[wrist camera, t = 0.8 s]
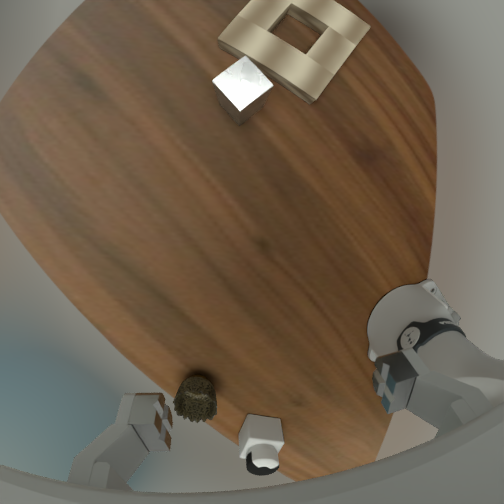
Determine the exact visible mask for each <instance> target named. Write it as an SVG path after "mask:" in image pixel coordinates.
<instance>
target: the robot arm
mask: <svg viewBox="0 0 504 504" xmlns="http://www.w3.org/2000/svg"><path fill="white" fill-rule="evenodd" d="M431 289H432V291H431ZM460 319H461V318H460V316H459V315H458V314H457V313H456V312H455V311H453V309H452V308H451V307H450V306H449V305H448V303H447V301H446V300H445V298H444V296H443V295H442V293H441V292H440V290H439V288H438V287H437V285H436V284H435V283H434V281H433V280H432V279H427V280H424V281H422V282H421V283H419V284H415V285H405V286H401V287H398V288H396V289H394V290H392V291H391V292H389V293H388V294H387V295H385V296H384V297H383V298H382V299H381V300H380V301H379V303H378V304H377V305H376V307H375V308H374V310H373V311H372V313H371V316H370V318H369V322H368V327H367V334H368V339H369V343H370V346H369V350H368V357H369V359H370V360H371V361H374V362H375V366H376V368H377V369H376V370H375V371H374V372H373V378H372V380H373V386H374V390H375V392H376V394H377V395H379V396H381V397H382V401H381V403H382V405H383V407H384V408H385V410H386V412H387V414H390V413H393V412H396V411H399V410H402V409H405V408H407V410H409V411H410V412H412V413H413V414H415V415H417V416H418V417H420V418H421V419H423V420H425V421H426V422H428V423H430V424H431V425H433V426H434V427H436V428H438V429H439V430H438V432H437V434H436V436H435V438H434V439H432V440H430V441H427V442H425V443H423V444H420V445H418V446H416V447H413V448H411V449H408V450H406V451H403V452H400V453H398V454H395V455H392V456H390V457H387V458H384V459H381V460H378V461H375V462H372V463H369V464H366V465H362V466H359V467H356V468H352V469H349V470H345V471H341V472H338V473H334V474H330V475H326V476H321V477H317V478H312V479H308V480H303V481H298V482H293V483H287V484H281V485H275V486H268V487H261V488H253V489H244V490H235V491H221V492H202V493H155V492H138V491H133V490H132V489H131V487H129V485H128V484H127V481H128V480H129V479H130V477H131V476H132V475H133V474H134V472H135V471H136V470H137V468H138V467H139V466H140V465H141V463H142V462H143V460H144V459H145V458H146V457H147V455H148V454H149V452H163V451H170V445H171V436H170V434H169V432H170V430H171V429H172V423H173V422H172V414H171V411H170V408H169V406H167V405H166V404H165V398H164V395H163V394H162V393H125V394H124V395H123V397H122V400H121V403H120V407H119V410H118V414H117V418H116V422H115V424H112V425H110V426H109V427H108V428H107V429H106V430H105V431H104V432H102V433H101V434H100V435H99V436H98V437H97V438H96V439H95V440H94V441H92V442H91V444H89V445H88V446H87V447H86V448H85V449H83V451H81V452H80V453H79V454H78V455H77V456H76V457H74V460H73V464H72V467H71V470H70V473H69V477H68V481H67V482H64V481H59V480H55V479H50V478H46V477H42V476H38V475H34V474H30V473H27V472H23V471H20V470H17V469H13V468H10V467H7V466H4V465H0V504H504V360H500V359H495V358H493V357H491V356H489V355H487V354H486V353H484V352H483V351H482V350H480V349H479V348H478V347H476V346H475V345H474V344H473V343H471V342H470V341H469V340H468V339H467V338H466V336H465V334H464V332H463V331H462V330H461V328H460V327H459V326H458V325H459V322H458V321H459V320H460Z"/></svg>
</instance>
